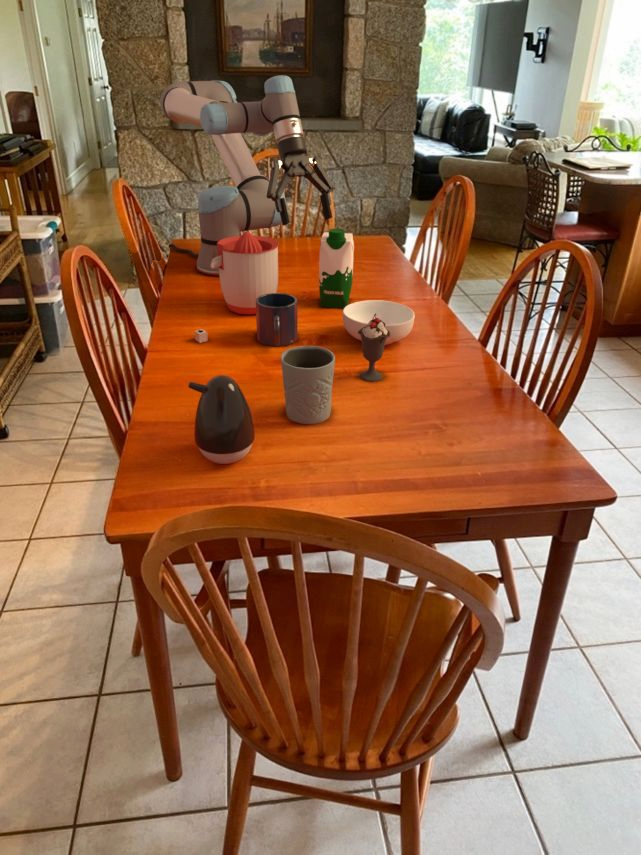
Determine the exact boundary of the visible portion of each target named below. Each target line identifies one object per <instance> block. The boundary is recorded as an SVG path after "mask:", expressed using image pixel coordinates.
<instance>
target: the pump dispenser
mask: <svg viewBox="0 0 641 855" xmlns="http://www.w3.org/2000/svg"><path fill="white" fill-rule="evenodd" d="M188 388H189V389H191V390H193V391H196V392H199V393H200V397H199V400H198V403H197V406H196V410H195V416H194V417H195V418H194V428H193V429H194V430H193V432H194V433H193V436H194V442H195V445H196V446H197V447H198V450H199V452H201V454H202V456H203V457H205V458H206V459H207V460H208V461H210V462H212V463H214V464H219V465H220V464H221V465H223V464H224V465H227V464H233V463H236V462H238V461H240V460H242V459H243V458H245V457H246V456H247V454H248V453H249V452H250V450H251V448H252V446H253V443H254V441H255V438H256V432H255V430H256V429H255V425H254V420H253V415H252V411H251V408H250V405H249V403H248V400H247V398H246V396H245V394H244V392H243V390H242V389H241V387H240V385H239V384H238V383H237V382H236V381H235V380H234V378H232V377H230V376H228V375H224V374H220V375H216V376H213V377H211V378H210V379H209V380H208V381H207V383H206V384H202V383H198V382H194V381H189V383H188Z"/></svg>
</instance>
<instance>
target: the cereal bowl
mask: <svg viewBox="0 0 641 855" xmlns="http://www.w3.org/2000/svg"><path fill="white" fill-rule="evenodd" d="M342 309H343V310H342V323H343V327H344V329H345V331H346V332H347V333H348V334H349V335H351V336H352V337H353V338H355V339H357V340H359V341H360V342H362V340H361V335H359V334H358V331H359V330H360V329H361V328H363V327H366V326H367V325H368V323H369V322H370V321H371V320H372V319H375V317H376V318H379V319H380V320H381V321H383V322H384V323H385V328H386V329H388V330H389V332H390V337H388V338H386V341H385V345H384V346H388V345H390V344H393V343H395V342H399V341H401V340H403V339H405V338H406V337H407V336H408V335H409V334H410V333H411V331H412V330H413V327H414V324H415V320H416V319H415V318H416V316H415V312H414V310H413V309H412V308H411V307H409V306H408V305H405V304H403V303H400V302H395V301H391V300H381V299H369V300H368V299H367V300H361V301H356V302H355V301H354V302H351V303H348V305H347V306H346V307H345V308H342ZM375 313H376V316H374V314H375ZM373 317H374V318H373Z"/></svg>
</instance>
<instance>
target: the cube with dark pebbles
mask: <svg viewBox="0 0 641 855" xmlns="http://www.w3.org/2000/svg"><path fill="white" fill-rule="evenodd" d="M208 337H209V336H208V331H206V330H204V329H203V328H201V329H197V330H194V339H195V341H196V342H198V343H199V344H201V343H205V342H209V338H208Z"/></svg>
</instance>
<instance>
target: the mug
mask: <svg viewBox="0 0 641 855" xmlns="http://www.w3.org/2000/svg"><path fill="white" fill-rule="evenodd" d="M255 318H256V338H257V341H258V342H259V343H260V344H262V345H265V346H270V347H284V346H285V347H286V346H290V345H292V344H294V343H295V342H296V341H297V340H298V298H297V297H296V296H295V295H292V294H289V293H283V292H277V293H269V294H264V295H261V296H259V297H258V298H256V314H255Z"/></svg>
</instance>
